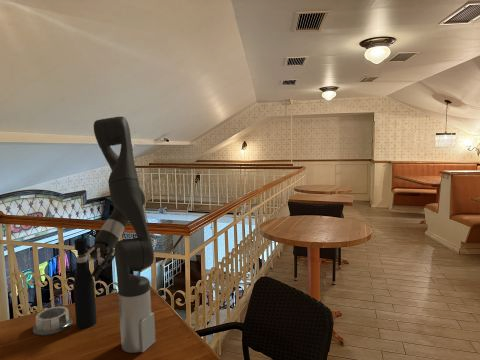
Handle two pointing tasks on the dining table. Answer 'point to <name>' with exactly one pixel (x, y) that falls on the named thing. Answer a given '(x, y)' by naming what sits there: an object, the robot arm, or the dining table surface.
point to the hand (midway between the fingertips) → (85, 274)
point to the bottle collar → (52, 321)
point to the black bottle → (84, 288)
